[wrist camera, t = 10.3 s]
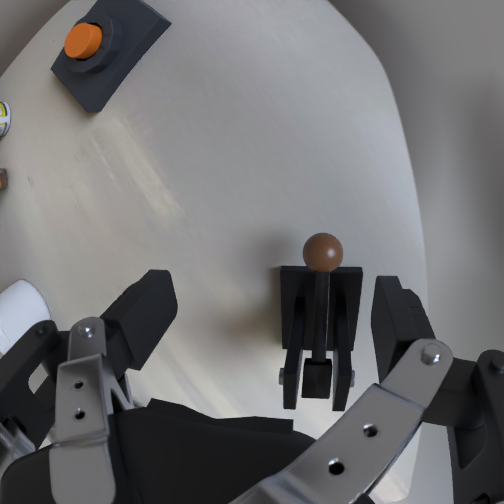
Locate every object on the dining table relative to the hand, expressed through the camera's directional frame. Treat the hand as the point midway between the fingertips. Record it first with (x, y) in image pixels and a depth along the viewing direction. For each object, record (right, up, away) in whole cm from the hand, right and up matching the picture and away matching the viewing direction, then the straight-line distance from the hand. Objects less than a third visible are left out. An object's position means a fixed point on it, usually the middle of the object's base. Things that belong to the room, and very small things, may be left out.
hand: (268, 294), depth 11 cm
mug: (-41, -8, +33) cm, 53 cm away
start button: (-16, +22, +9) cm, 29 cm away
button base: (-15, +23, +12) cm, 31 cm away
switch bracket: (+7, -4, +20) cm, 22 cm away
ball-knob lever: (+5, -4, +13) cm, 15 cm away
